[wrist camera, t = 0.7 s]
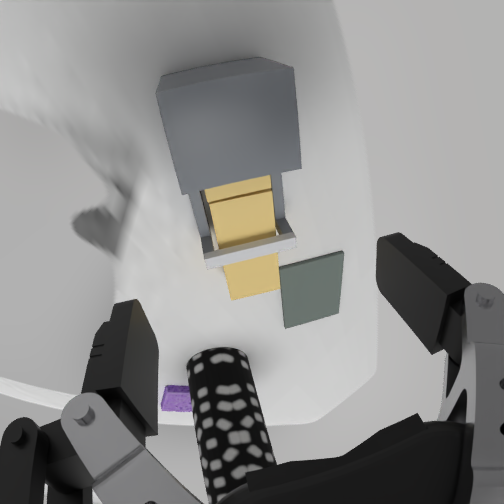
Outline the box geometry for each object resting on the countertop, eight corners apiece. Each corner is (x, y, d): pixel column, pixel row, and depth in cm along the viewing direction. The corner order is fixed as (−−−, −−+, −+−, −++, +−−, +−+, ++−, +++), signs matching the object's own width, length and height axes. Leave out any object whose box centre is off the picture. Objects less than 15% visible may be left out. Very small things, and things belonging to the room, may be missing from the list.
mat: (278, 267, 33) (279, 269, 32) (342, 250, 33) (344, 253, 33) (284, 326, 39) (285, 328, 39) (337, 310, 40) (338, 313, 39)
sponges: (232, 403, 51) (234, 413, 50) (159, 402, 47) (160, 412, 45) (246, 384, 48) (248, 394, 46) (165, 381, 43) (166, 392, 42)
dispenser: (161, 76, 19) (155, 93, 14) (260, 57, 20) (293, 67, 15) (200, 230, 28) (209, 287, 23) (278, 212, 29) (305, 263, 23)
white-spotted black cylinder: (221, 339, 38) (259, 501, 23) (259, 361, 43) (300, 497, 28) (173, 367, 40) (195, 515, 25) (214, 385, 45) (242, 513, 30)
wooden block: (203, 179, 25) (209, 204, 22) (258, 168, 26) (272, 191, 23) (224, 270, 32) (231, 300, 29) (269, 260, 32) (280, 288, 29)
